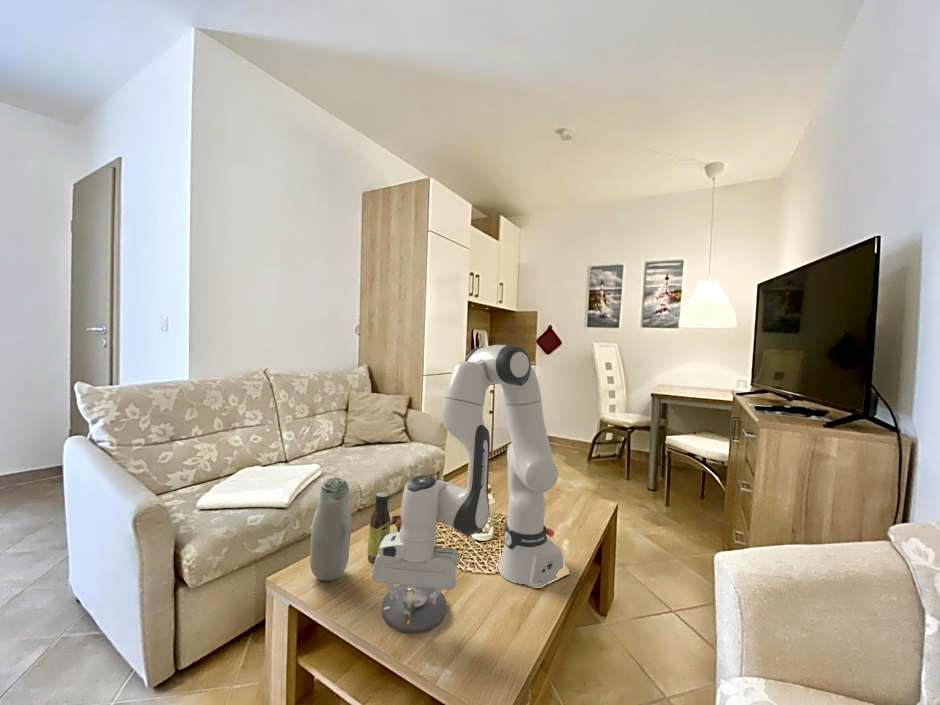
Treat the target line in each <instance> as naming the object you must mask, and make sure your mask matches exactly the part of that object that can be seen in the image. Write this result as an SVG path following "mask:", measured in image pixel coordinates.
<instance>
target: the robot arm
mask: <svg viewBox="0 0 940 705" xmlns="http://www.w3.org/2000/svg"><path fill="white" fill-rule="evenodd" d="M499 384H500V385H501V388H502V390H503V402H504V403H503V404H504V411H505V419H506V426H507V432H508V434H509V437H510V441H511V443H510V444H509V445H508V447H507V450H506V458H507V484H508V485H507V486H508V488H507V489H508V506H507V517H506V522H505V524H504V535H503V538H504V539H503V540H504V543H503V549H502V553H501V555H500V556H501V557H500V560H499V561H498V562H499V563H498V564H497V570H498V569H499V571H498V573H499V572H500V573H499V574H500V576H501V577H503V578H504V579H506V581H509V582H511V583H513V584H516V583H519V584H518V585H521V584H527V585H531V586H533V587H541V586H543V585H544V584H547V583H548V582H550V581H552V580H554V579H556V578H557V576H556V574H557V573H558V571H559V570H560V569H562V568H563V561H564V558H563V553H562V551H561V549H560V547H558V545H556V543H554V542H553V541H552V540H551V539H550V538H552V537H554V535H555V531H554V530H553V529H551V527H547V526H545V525H544V524H545V523H544V522H545V512H546V511H545V510H546V500H545V496H544V493H546V492H548V491H550V490H552V489H553V488H554V486H556V483H557V482H558V478H559V472H558V468H557V465H556V463H555V459H554V457H553V452H552V448H551V445H550V440H549V436H548V434H547V430H546V425H545V420H544V411H543V410H544V409H543V404H542V395H541V389H540V386H539V385H540V384H539V381H538V378H537V374H536V372H535V369H534V368H533V367H532V363H531V358H530V356H529V354H528V352H527V351H526V350H525V348H523V347H520V346H518V345H513V344H509V345H508V344H507V345H506V344H492V345H488V346H487V345H486V346H480V347H479V346H478V347H476V348H474V349H471V351H469V352H468V354H467V355H466V356H465V359H464V360H463V361H461V362H458V363H456V365H455V366H454V367H453V369H452V372H451V374H450V376H449V379H448V381H447V384H446V387H445V390H444V395H443V398H442V403H441V407H440V420H441V422H442V425H443V426H444V428H445V430H447V432H448V433H449V434H450V435H452V436H453V437H454V438H455V439H457V440H458V441H459V442H460V443H461V444H462V445H463V446H464V448H465V449H466V452H467V454H468V465H467V466H468V467H467V469H468V470H467V480H466V481H467V483H466V484H467V485H466V488H464V487H461V486H459V485H455V484H453V483H451V482H447V481H444V480H441V479H436V478H435V477H434V476H433V475H429V474H419V475H415V476H413V477H411V478H410V479H408V480H407V482H406V484H405V486H404V489H403V492H402V498H401V503H400V504H401V505H400V515H401V520H402V525H401V528H400V532H398V531H397V532H392V533H389V534H388V535H386V536H385V537H384V539H383V540H382V542H381V544H380V546H379V551H378V552H379V553H378V555H377V557H376V559H375V562H373V567H372V574H371V579H372V580H373V582H374V583H380V584H381V583H382V584H386V586H385V587H386V589H387V590H388V592H389V593H390V594H391V595H390V600H395V601H396V600H397V597H398V590H396V589H395V587H394V585H398V586H399V585H409V586H418V587H428V588H435V592H434V593H431V594H430V598H429V604H433V605H435V603H436V598H437V596H438V595H439V594H440V592H441V593H442V590H448V591H449V590H450V591H451V590H453V589H455V587H456V586H457V577H458V576H457V574H458V573H457V572H458V571H457V567H458V566H459V564H460V553H458V551H456V550H455V549H454V548H452V547H447V548H446V547H442V546H441V547H440V546H436V544H437V543H436V542H437V530H436V524H438V523H440V524H443V525H445V526H447V527H450V528H453V529H454V530H455V531H458V532H459V533H461V534H462V535H464V536H466V537H467V536H472V535H474V534H478V533H479V532H480V531H481V530H482V529H484V528H485V526H486V525H487V523H488V520H489V517H490V516H489V515H490V502H489V476H490V459H491V458H490V453H491V436H490V431H489V429H488V428H487V427H486V426H485V422H484V413H483V412H484V406H485V401H486V394H487V392H488V391H487V390H488V389H489V387H490V386H491V385H499ZM547 535H548V536H549V538H548V536H547ZM539 583H541V584H539Z"/></svg>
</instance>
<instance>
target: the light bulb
mask: <svg viewBox="0 0 940 705" xmlns="http://www.w3.org/2000/svg"><path fill="white" fill-rule="evenodd" d="M426 602H427V595H426V593H425V592H424V591H422V590H419V589H416V588H415V587H414V586H408V587H407V588H406V592H405V593H404V595H403V604H404V606H405V611H404V617H407V618H410V617H411V615H412V613H413V611H414V609H420V608H422V607H424V606H425V605H426Z"/></svg>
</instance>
